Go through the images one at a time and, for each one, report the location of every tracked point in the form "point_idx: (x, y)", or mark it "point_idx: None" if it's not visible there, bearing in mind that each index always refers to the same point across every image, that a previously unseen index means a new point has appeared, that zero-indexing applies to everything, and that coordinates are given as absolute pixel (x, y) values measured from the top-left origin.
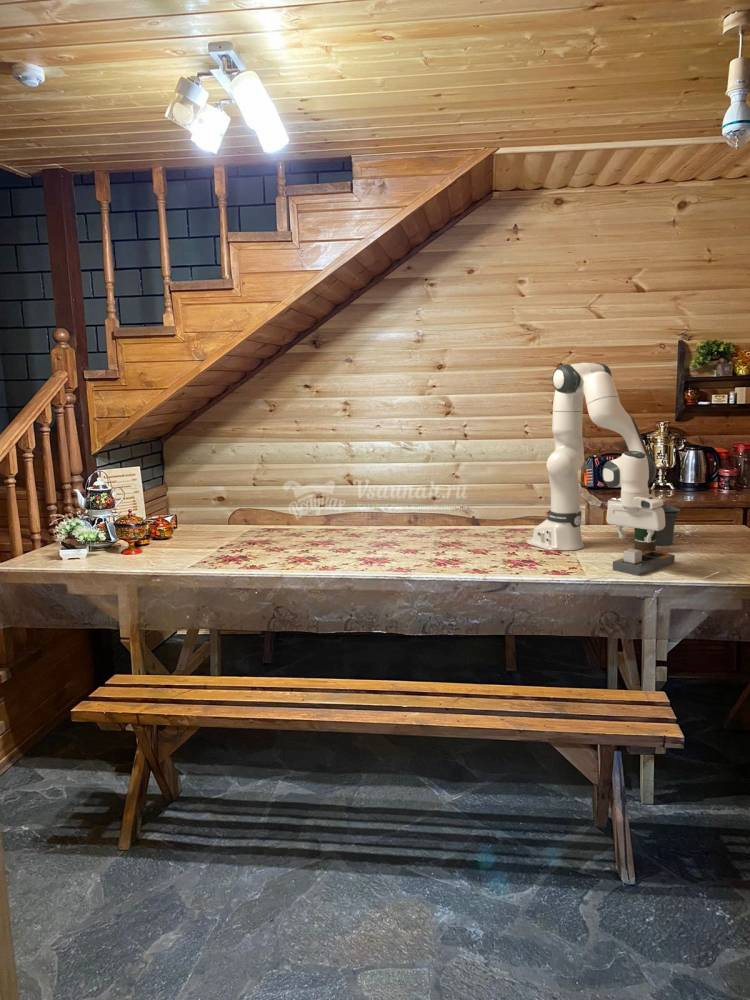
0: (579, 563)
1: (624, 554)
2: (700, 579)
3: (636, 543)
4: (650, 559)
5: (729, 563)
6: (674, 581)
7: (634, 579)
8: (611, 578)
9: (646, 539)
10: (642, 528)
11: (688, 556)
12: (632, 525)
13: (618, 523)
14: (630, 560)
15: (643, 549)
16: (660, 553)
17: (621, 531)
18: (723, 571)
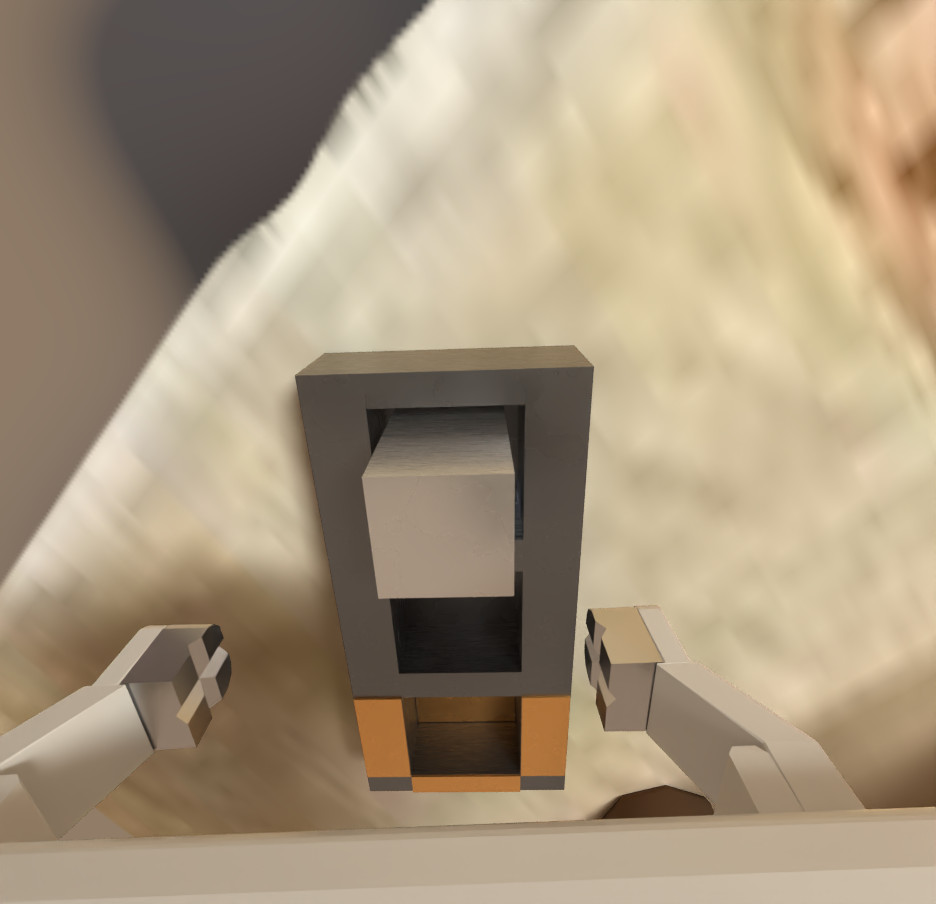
0: (930, 350)
1: (501, 453)
2: (69, 592)
3: None
4: (444, 657)
5: None
6: (106, 449)
7: (305, 274)
8: (453, 136)
9: (147, 654)
10: (12, 847)
11: None
12: (311, 894)
13: (825, 879)
14: (428, 435)
15: (649, 817)
16: (459, 773)
17: (681, 726)
18: (140, 770)
